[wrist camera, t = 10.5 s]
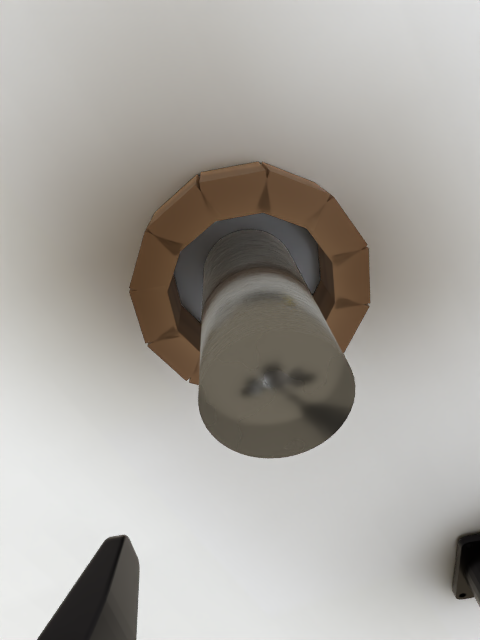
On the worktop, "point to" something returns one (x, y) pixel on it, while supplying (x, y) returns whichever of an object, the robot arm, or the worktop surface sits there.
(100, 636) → the robot arm
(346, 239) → the brown segmented ring
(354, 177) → the worktop surface
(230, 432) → the grey metal peg
